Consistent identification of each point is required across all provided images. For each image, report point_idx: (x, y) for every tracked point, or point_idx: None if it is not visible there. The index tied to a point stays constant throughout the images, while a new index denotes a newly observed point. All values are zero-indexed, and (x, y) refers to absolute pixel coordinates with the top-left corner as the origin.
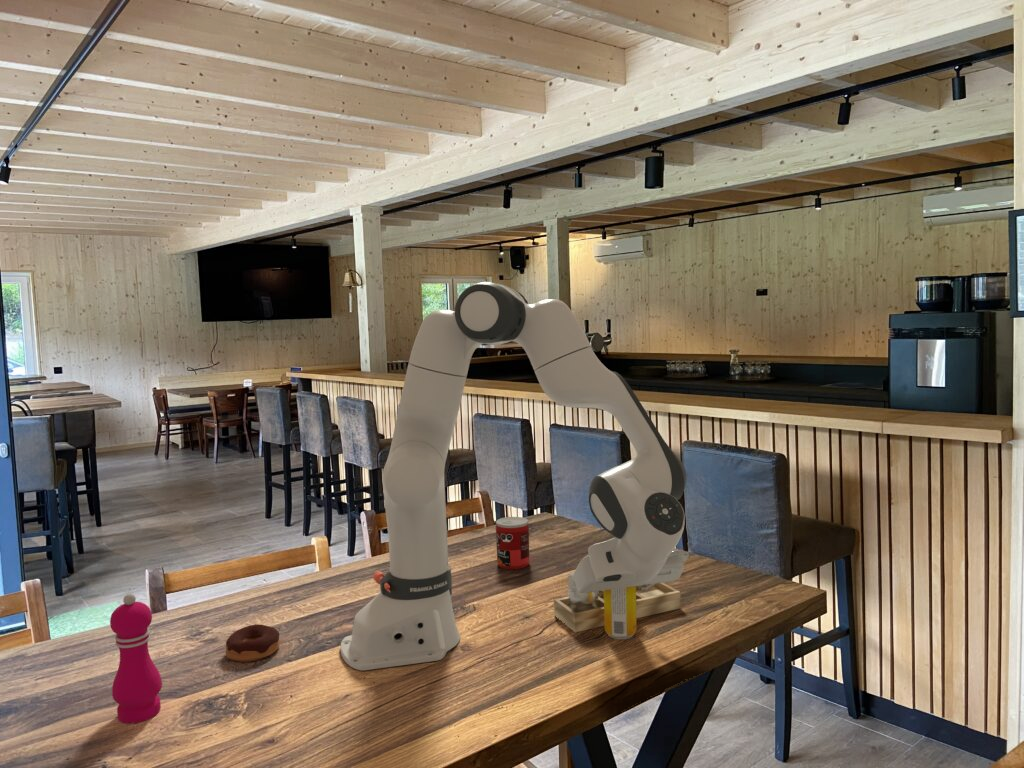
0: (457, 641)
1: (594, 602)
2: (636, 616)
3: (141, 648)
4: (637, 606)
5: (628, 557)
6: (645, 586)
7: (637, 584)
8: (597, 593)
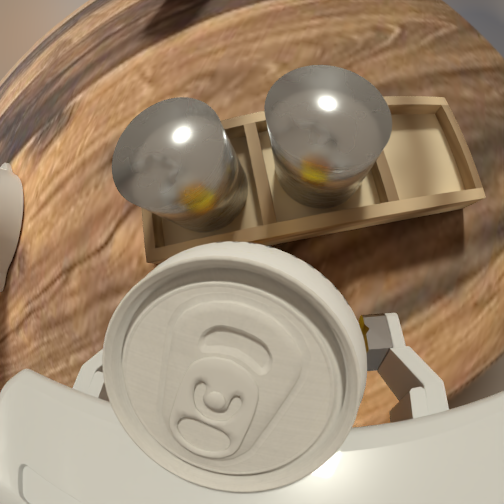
0: (14, 246)
1: (213, 219)
2: (353, 228)
3: None
4: (363, 222)
5: None
6: (375, 368)
7: None
8: None
